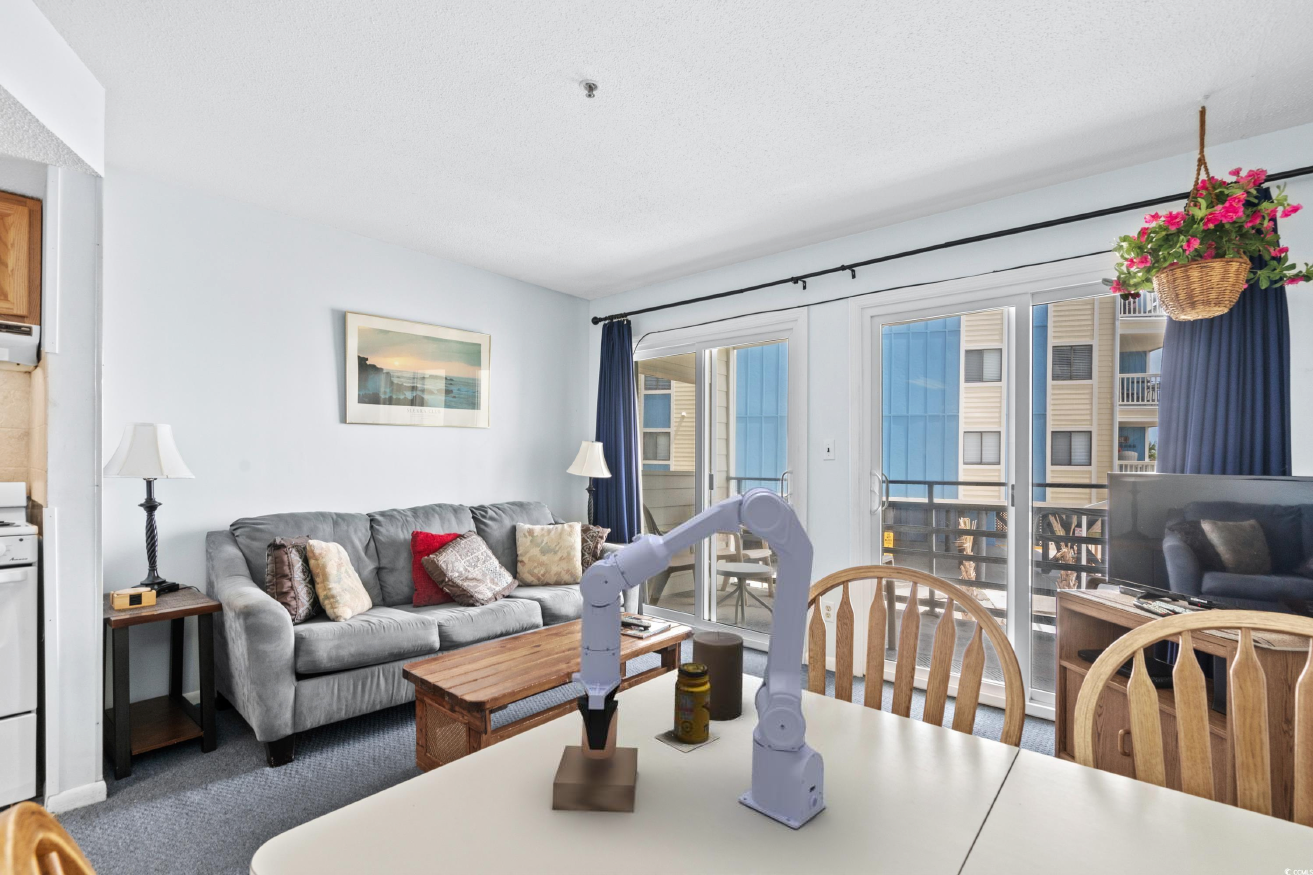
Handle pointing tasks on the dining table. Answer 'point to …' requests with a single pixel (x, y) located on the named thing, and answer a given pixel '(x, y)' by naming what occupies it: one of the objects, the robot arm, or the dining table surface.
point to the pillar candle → (721, 671)
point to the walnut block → (596, 781)
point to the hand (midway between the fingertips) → (598, 739)
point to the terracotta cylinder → (610, 744)
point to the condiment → (690, 709)
